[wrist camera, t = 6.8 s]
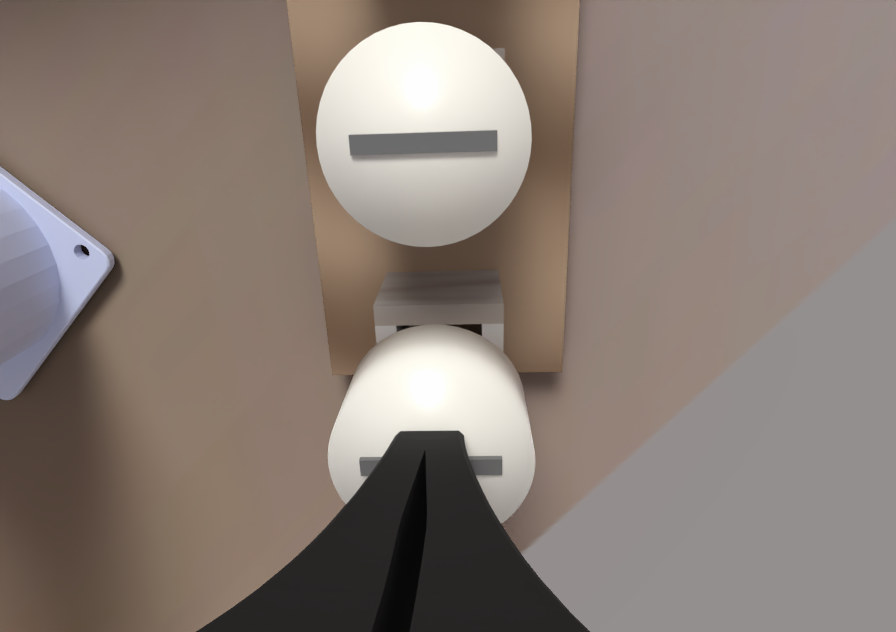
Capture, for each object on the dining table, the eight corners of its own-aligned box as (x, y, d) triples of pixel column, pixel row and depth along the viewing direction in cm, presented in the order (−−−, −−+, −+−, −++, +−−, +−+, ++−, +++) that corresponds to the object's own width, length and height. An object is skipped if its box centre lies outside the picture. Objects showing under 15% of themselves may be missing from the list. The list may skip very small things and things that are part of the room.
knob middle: (367, 200, 18) (327, 250, 13) (353, 42, 16) (300, 25, 11) (511, 197, 18) (530, 246, 12) (513, 36, 16) (535, 16, 11)
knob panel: (276, -205, 15) (205, -311, 11) (580, -223, 15) (623, -338, 11) (340, 356, 22) (311, 422, 18) (556, 352, 21) (577, 419, 17)
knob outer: (374, 416, 18) (337, 548, 13) (361, 284, 16) (314, 376, 11) (514, 414, 18) (533, 548, 13) (516, 281, 16) (539, 373, 11)
